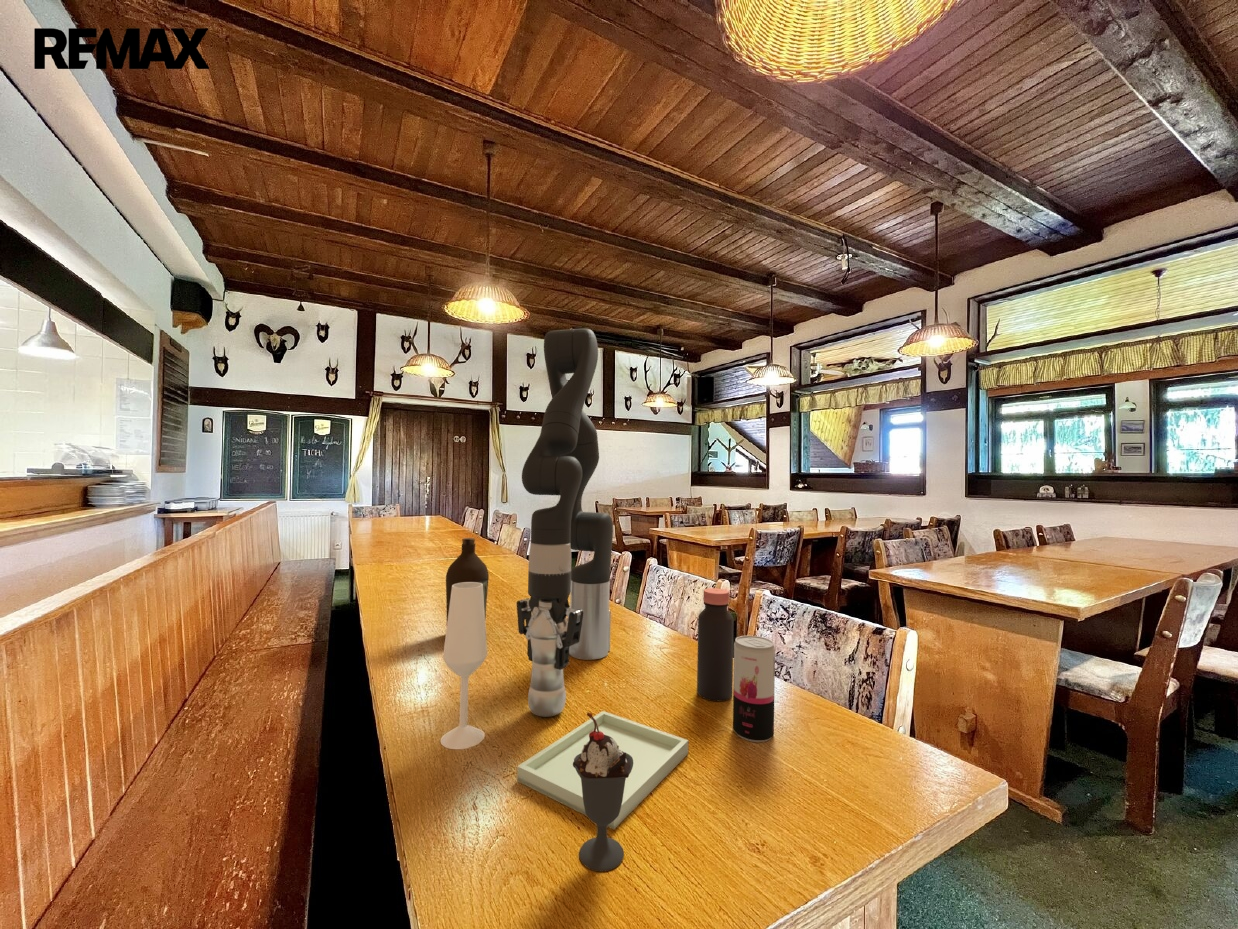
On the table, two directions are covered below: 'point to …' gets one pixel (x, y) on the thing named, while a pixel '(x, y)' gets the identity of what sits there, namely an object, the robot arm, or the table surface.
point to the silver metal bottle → (545, 667)
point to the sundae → (602, 796)
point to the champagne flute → (465, 654)
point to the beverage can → (754, 688)
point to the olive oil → (467, 571)
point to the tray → (642, 743)
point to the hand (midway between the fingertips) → (547, 663)
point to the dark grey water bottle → (715, 647)
